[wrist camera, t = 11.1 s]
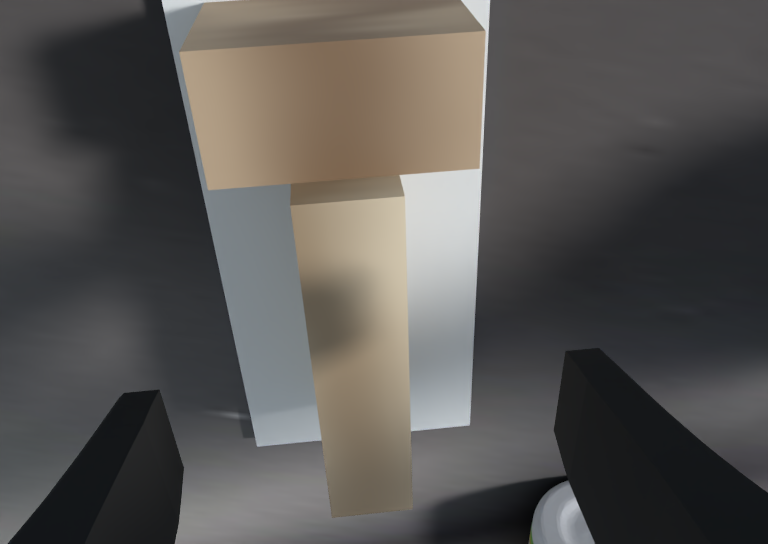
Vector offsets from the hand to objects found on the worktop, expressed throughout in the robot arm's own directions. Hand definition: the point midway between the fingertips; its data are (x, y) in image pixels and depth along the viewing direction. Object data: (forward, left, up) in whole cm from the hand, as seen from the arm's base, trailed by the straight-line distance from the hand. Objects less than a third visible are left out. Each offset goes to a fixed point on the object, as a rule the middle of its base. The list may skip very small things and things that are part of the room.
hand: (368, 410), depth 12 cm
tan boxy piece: (0, +2, -9) cm, 9 cm away
